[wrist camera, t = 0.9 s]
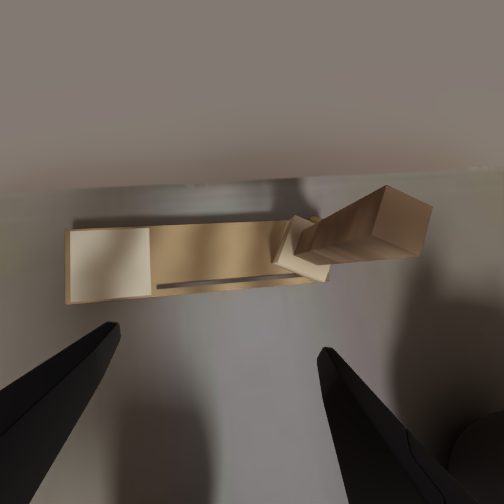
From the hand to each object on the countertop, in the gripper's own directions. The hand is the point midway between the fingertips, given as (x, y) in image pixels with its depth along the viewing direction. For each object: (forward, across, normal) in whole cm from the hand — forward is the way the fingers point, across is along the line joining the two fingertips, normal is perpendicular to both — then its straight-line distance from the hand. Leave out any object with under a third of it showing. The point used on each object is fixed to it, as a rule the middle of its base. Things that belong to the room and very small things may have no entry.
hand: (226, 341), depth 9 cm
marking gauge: (+14, -7, +1) cm, 15 cm away
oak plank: (+13, +2, +4) cm, 14 cm away
